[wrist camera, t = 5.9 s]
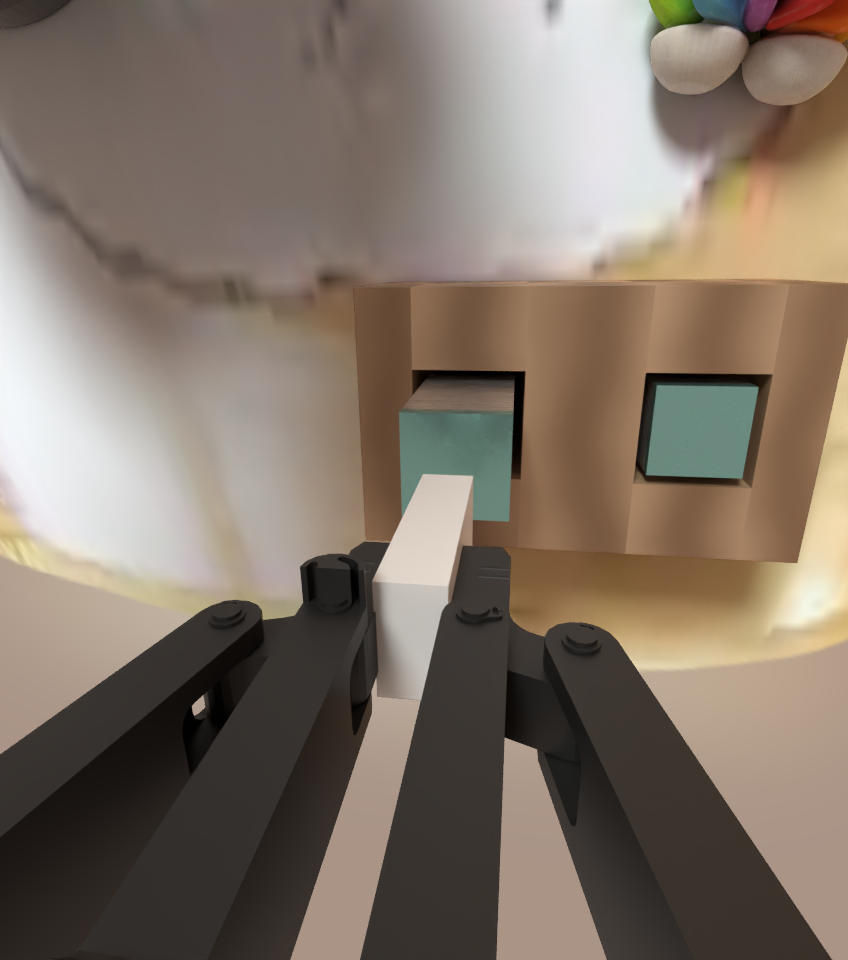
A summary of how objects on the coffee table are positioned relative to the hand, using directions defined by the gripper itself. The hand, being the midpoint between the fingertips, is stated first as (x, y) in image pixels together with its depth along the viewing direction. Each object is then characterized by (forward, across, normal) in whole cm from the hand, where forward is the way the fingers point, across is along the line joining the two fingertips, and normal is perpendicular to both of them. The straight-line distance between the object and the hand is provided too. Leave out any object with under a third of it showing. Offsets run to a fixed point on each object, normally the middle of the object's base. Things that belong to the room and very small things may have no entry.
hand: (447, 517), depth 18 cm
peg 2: (+18, +10, 0) cm, 20 cm away
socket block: (+18, +5, 0) cm, 19 cm away
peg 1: (+12, 0, 0) cm, 12 cm away
